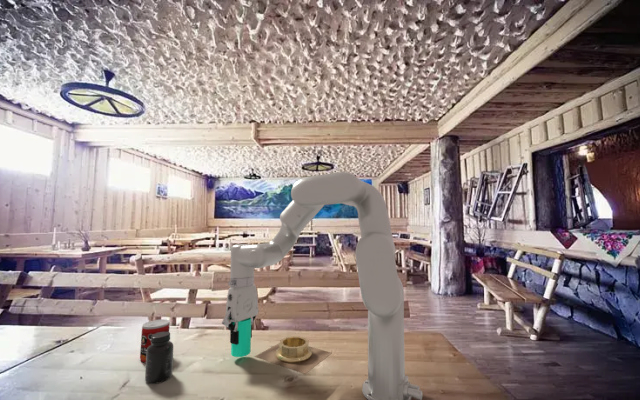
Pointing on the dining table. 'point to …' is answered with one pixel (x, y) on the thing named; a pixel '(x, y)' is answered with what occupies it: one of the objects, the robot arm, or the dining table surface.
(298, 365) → the walnut board
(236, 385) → the dining table surface
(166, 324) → the canned food
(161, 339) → the supplement bottle
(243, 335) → the candle
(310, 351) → the candle holder
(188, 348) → the dining table surface
